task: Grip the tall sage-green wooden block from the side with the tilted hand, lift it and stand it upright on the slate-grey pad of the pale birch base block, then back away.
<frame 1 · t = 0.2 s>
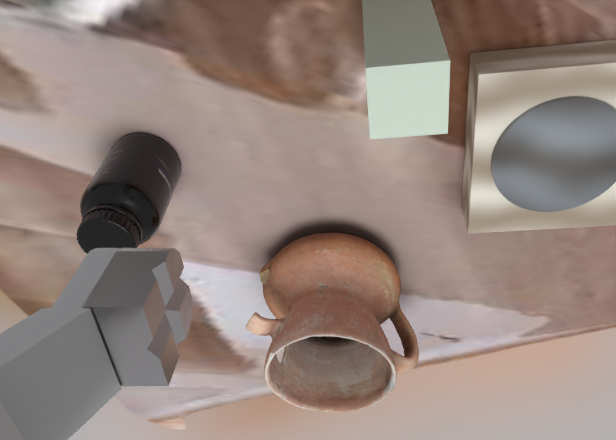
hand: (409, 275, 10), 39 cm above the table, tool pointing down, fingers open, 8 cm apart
birch base: (546, 131, 52), on the table
sage block: (395, 24, 46), on the table
supplement bottle: (147, 159, 56), on the table
ceramic jug: (337, 269, 64), on the table
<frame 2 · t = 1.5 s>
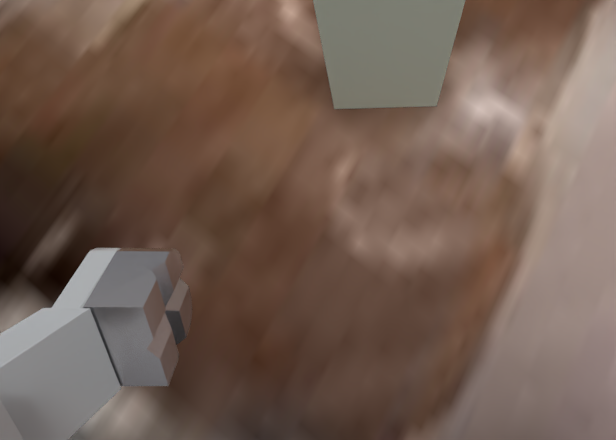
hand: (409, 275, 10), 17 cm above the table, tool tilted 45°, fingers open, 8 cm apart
sage block: (384, 60, 29), on the table
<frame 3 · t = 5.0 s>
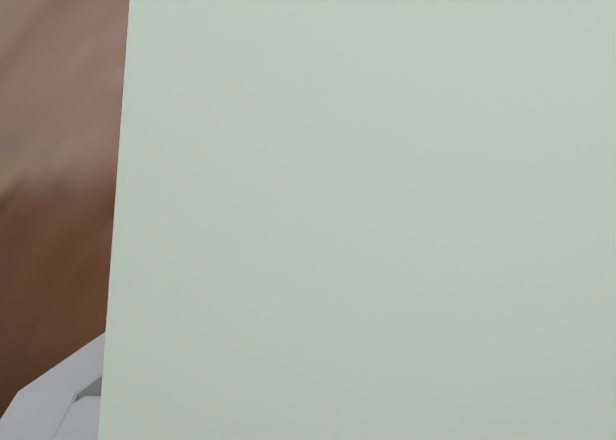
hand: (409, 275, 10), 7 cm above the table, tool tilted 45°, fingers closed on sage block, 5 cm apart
sage block: (399, 319, 17), on the table, touching gripper
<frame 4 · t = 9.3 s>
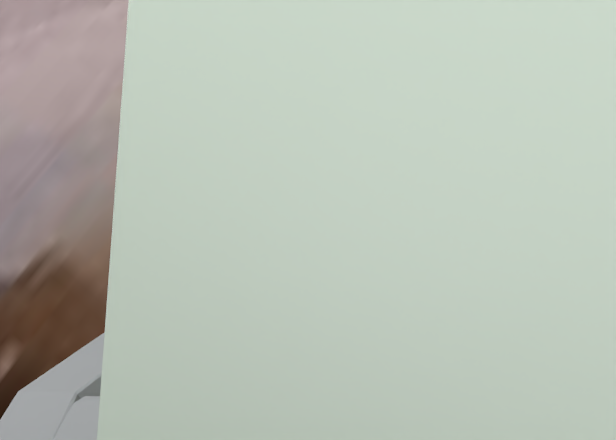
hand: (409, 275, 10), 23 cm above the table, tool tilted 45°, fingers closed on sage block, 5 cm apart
sage block: (398, 319, 17), point 16 cm above the table, touching gripper
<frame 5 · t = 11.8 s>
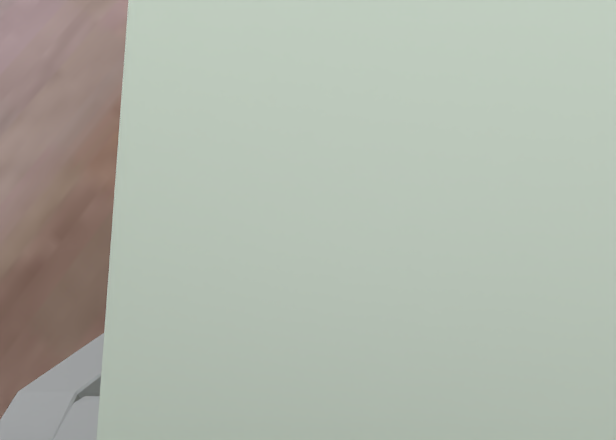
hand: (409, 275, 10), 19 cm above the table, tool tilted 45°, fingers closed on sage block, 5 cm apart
sage block: (399, 320, 17), point 12 cm above the table, touching gripper
when the fingers open (13 cm above the table, at t = 13.6 s): sage block drops 1 cm, resting on birch base.
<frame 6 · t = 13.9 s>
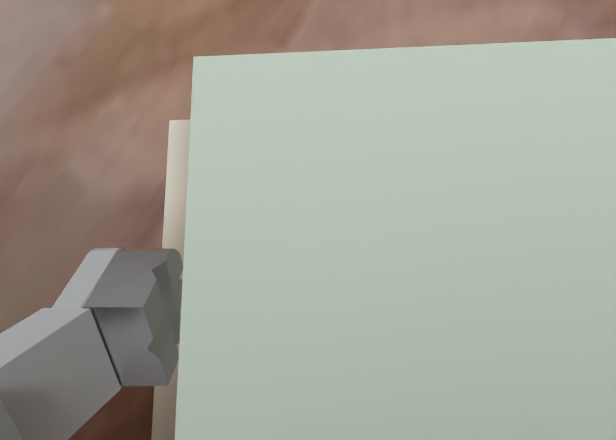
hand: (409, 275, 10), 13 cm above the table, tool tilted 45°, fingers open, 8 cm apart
birch base: (395, 321, 22), on the table
sage block: (396, 321, 18), point 5 cm above the table, touching birch base
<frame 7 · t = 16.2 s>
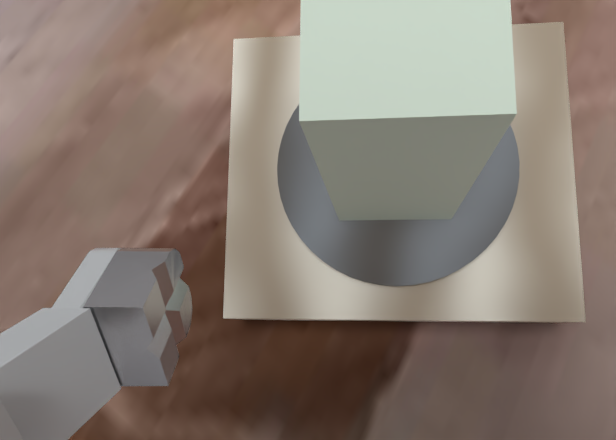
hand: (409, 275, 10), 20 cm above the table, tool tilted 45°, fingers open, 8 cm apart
birch base: (393, 188, 31), on the table
sage block: (393, 166, 27), point 5 cm above the table, touching birch base
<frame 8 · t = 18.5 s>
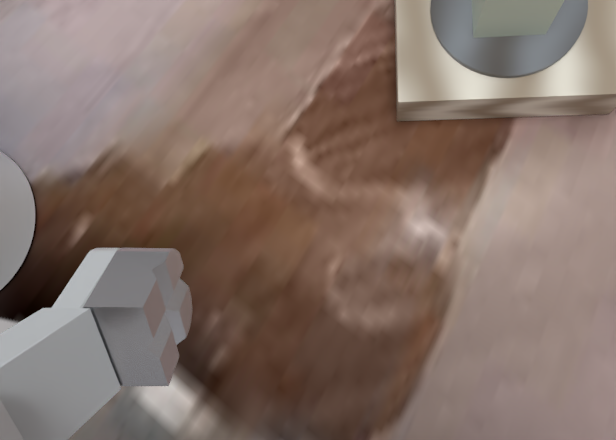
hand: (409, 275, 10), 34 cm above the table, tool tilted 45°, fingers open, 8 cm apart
birch base: (495, 34, 47), on the table
sage block: (507, 4, 42), point 5 cm above the table, touching birch base
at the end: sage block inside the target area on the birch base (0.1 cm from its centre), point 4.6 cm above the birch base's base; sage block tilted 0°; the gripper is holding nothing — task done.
